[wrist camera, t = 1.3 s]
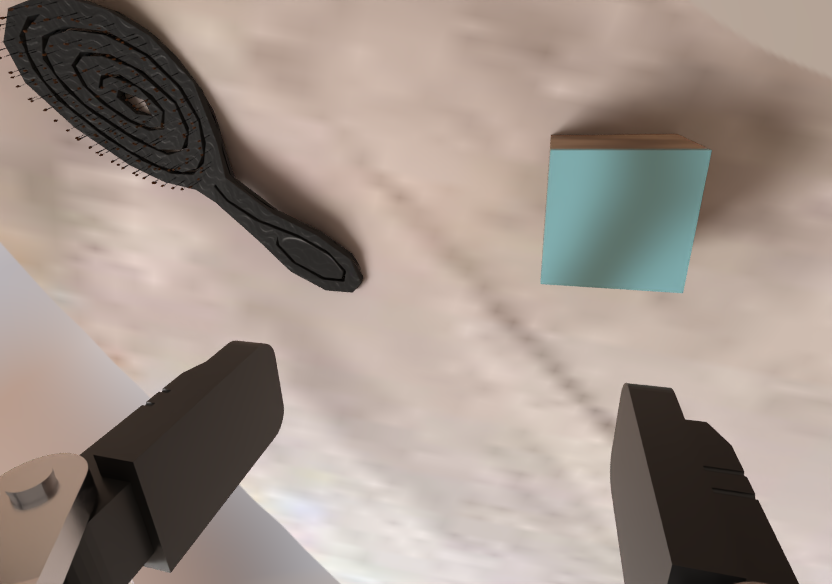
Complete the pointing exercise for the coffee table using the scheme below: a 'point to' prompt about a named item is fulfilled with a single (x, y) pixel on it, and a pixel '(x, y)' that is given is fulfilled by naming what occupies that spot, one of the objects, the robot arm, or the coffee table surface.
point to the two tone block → (622, 210)
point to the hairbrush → (154, 121)
